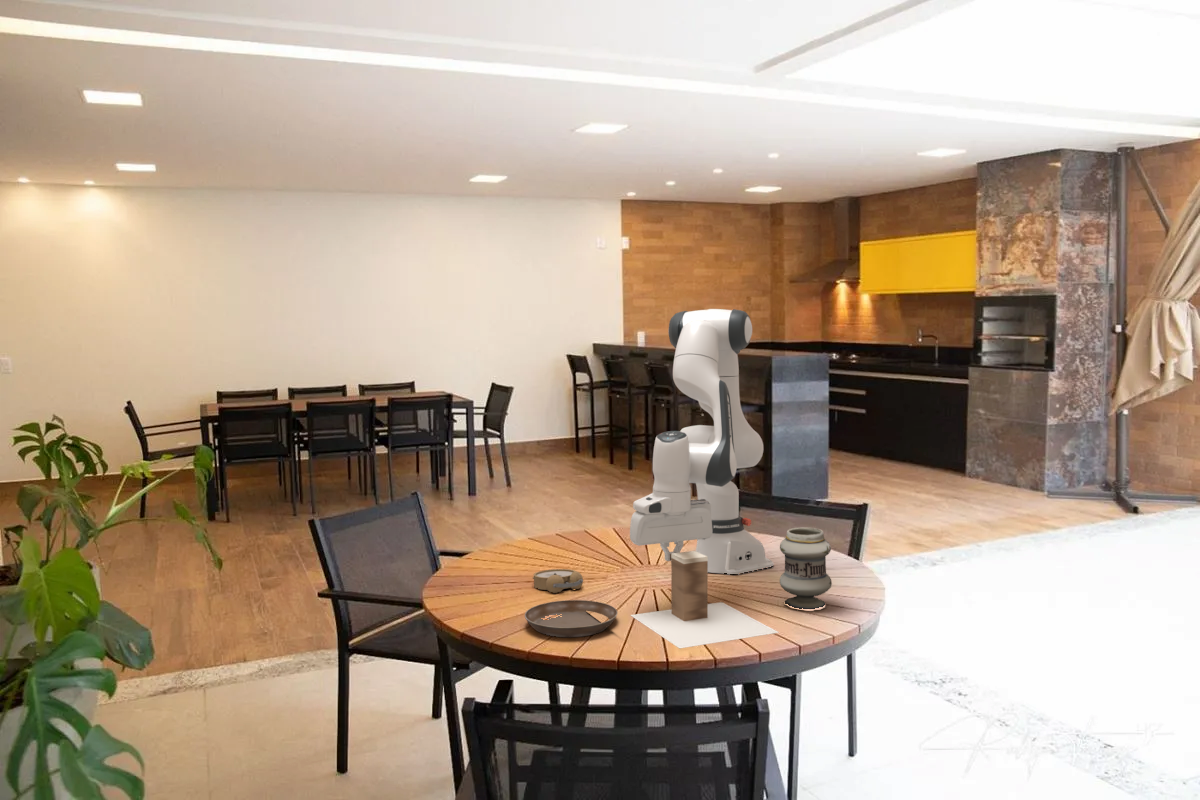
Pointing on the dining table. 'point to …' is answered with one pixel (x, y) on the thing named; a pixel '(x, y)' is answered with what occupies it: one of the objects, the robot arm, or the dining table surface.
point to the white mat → (704, 626)
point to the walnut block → (689, 585)
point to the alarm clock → (557, 580)
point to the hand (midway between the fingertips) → (671, 560)
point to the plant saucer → (570, 618)
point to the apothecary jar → (805, 567)
